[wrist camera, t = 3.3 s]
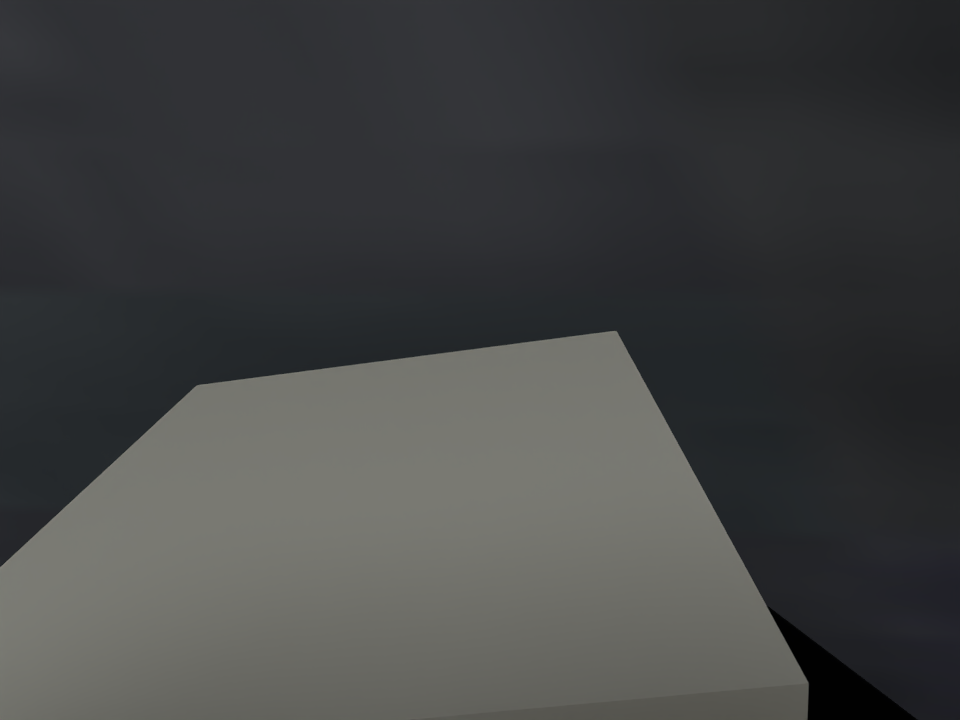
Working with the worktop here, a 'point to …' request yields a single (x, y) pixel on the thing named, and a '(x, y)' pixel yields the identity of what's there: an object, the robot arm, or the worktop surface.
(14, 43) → the worktop surface
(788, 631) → the robot arm
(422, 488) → the cream block
